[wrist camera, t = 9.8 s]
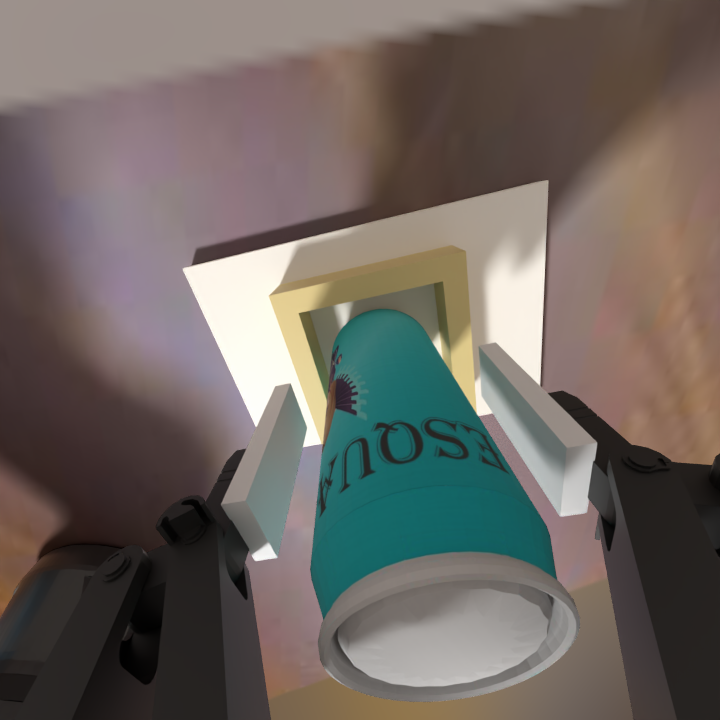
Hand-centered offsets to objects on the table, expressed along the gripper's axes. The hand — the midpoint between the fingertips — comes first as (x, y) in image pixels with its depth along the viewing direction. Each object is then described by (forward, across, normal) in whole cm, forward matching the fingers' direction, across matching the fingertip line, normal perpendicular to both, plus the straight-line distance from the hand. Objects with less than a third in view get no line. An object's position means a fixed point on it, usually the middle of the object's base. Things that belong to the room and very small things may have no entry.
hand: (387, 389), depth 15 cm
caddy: (+6, 0, 0) cm, 6 cm away
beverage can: (+6, 0, 0) cm, 6 cm away
